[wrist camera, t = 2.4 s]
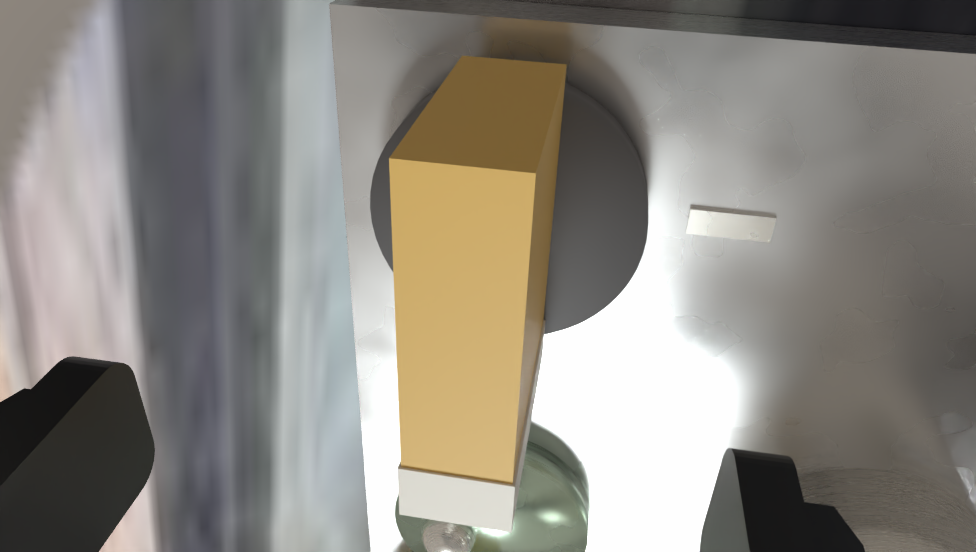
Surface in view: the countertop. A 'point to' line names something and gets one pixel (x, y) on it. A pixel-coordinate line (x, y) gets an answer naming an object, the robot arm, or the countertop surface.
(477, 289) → the white-tipped yellow pillar
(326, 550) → the countertop surface
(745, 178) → the base
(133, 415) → the robot arm
